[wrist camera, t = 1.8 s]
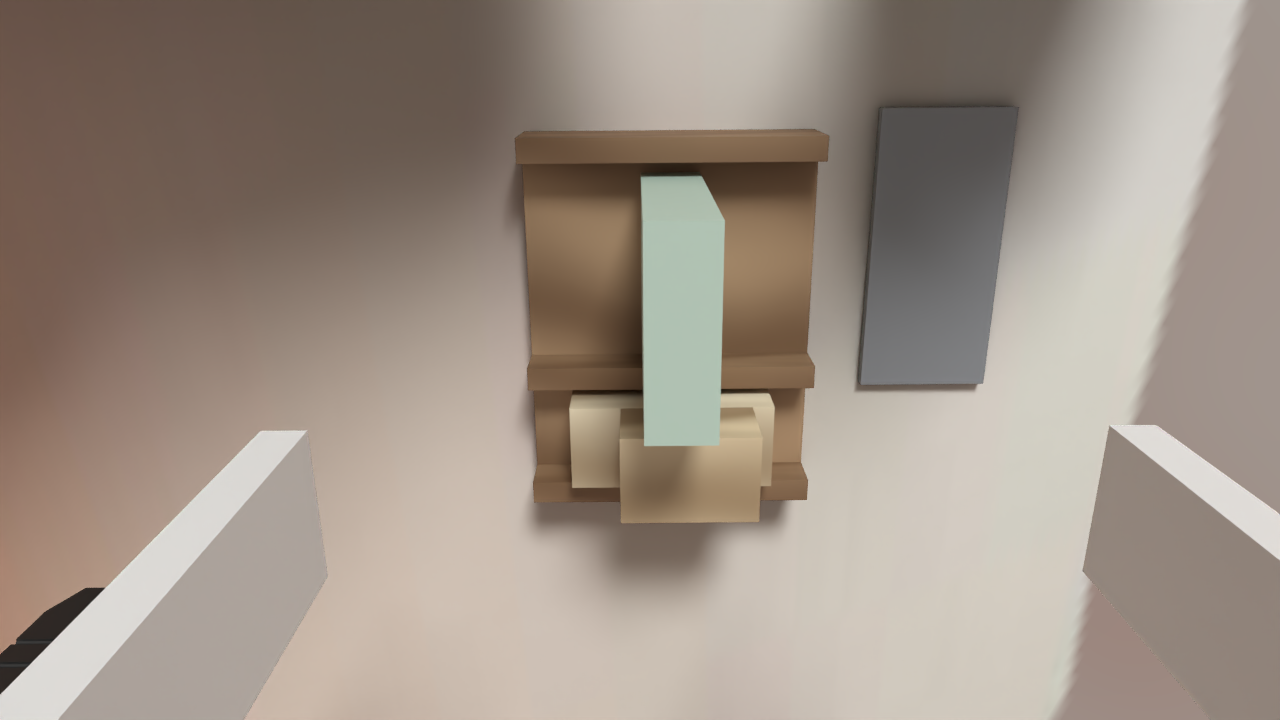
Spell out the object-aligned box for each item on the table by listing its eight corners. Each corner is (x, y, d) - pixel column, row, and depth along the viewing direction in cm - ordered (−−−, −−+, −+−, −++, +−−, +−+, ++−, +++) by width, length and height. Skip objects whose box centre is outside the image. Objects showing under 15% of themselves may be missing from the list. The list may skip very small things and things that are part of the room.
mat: (879, 107, 30) (882, 108, 30) (1014, 106, 30) (1018, 107, 30) (858, 380, 34) (860, 384, 33) (979, 379, 34) (982, 383, 33)
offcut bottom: (574, 382, 33) (569, 409, 30) (764, 381, 33) (774, 406, 30) (576, 456, 34) (572, 487, 31) (761, 455, 34) (771, 486, 31)
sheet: (640, 172, 30) (642, 221, 22) (699, 172, 30) (724, 220, 22) (641, 340, 32) (644, 446, 24) (697, 340, 32) (719, 445, 24)
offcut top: (620, 408, 30) (619, 439, 28) (752, 407, 30) (762, 437, 28) (621, 487, 31) (620, 523, 29) (749, 486, 31) (759, 521, 29)
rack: (524, 131, 31) (514, 138, 28) (814, 129, 31) (829, 135, 28) (541, 471, 35) (534, 502, 33) (795, 469, 35) (806, 500, 33)
